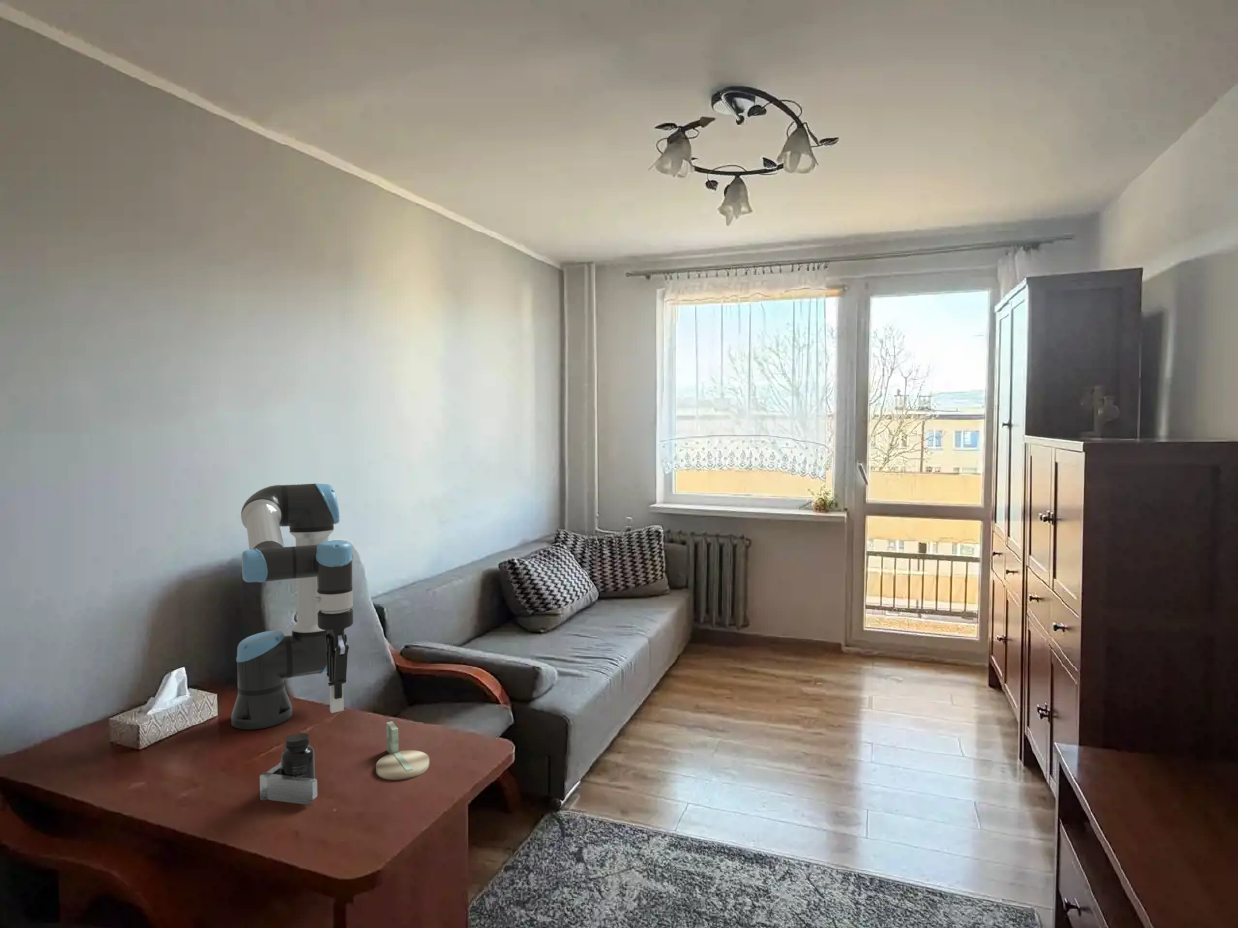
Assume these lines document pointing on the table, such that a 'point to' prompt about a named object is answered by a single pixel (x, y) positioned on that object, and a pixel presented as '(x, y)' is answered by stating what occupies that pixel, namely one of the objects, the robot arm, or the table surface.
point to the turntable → (400, 759)
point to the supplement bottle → (298, 757)
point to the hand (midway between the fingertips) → (336, 710)
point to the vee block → (287, 787)
